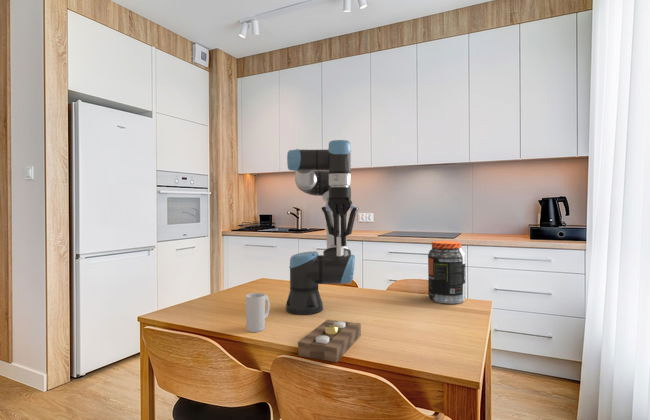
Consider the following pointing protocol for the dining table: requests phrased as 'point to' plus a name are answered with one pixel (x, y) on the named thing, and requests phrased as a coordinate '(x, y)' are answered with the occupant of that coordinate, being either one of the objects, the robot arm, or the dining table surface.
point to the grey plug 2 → (340, 324)
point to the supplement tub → (446, 272)
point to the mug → (256, 311)
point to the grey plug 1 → (322, 339)
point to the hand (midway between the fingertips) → (340, 255)
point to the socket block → (334, 346)
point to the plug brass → (331, 329)
